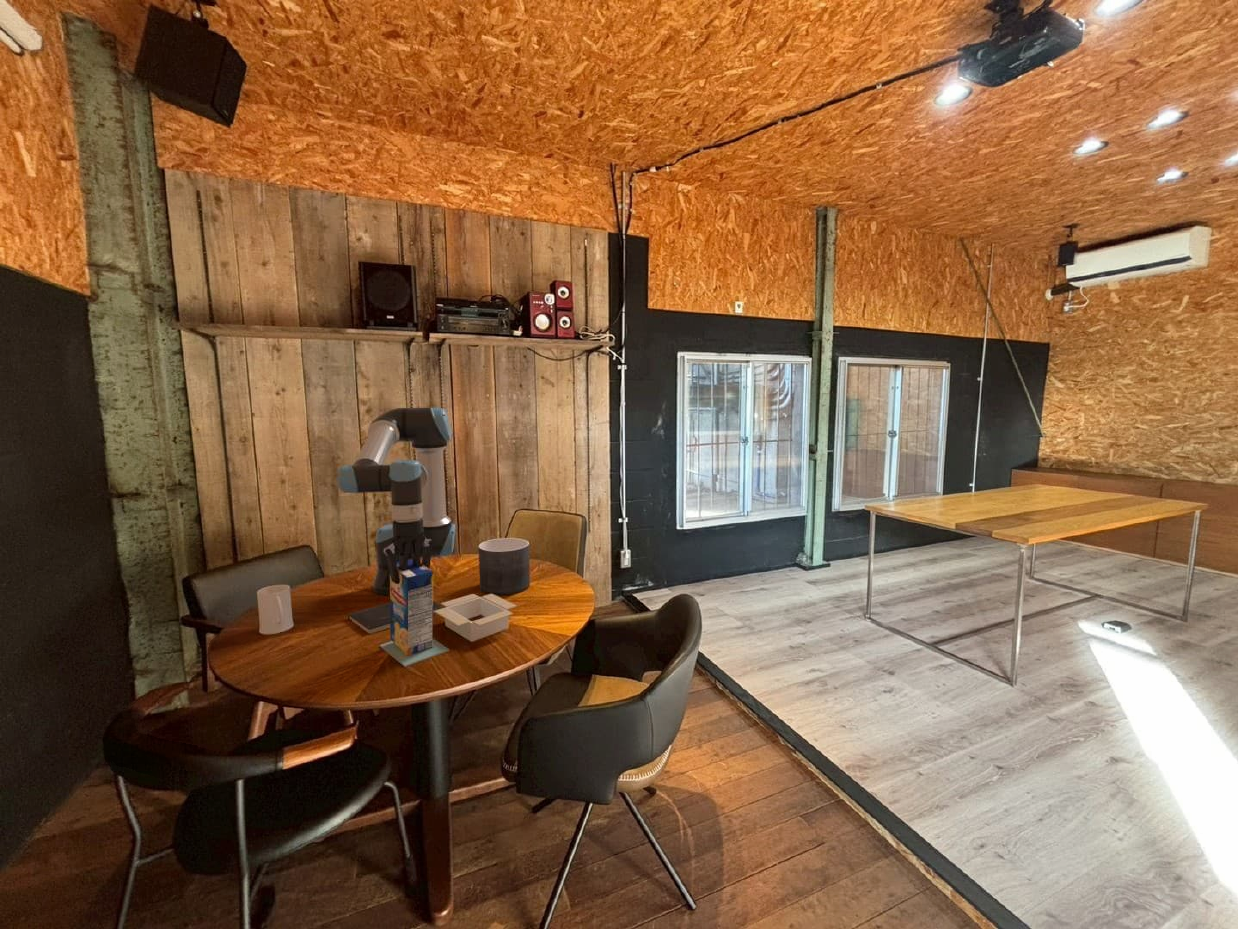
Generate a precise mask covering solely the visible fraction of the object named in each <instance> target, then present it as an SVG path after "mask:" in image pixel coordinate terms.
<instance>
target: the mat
mask: <svg viewBox="0 0 1238 929" xmlns="http://www.w3.org/2000/svg"><path fill="white" fill-rule="evenodd" d="M379 646H380V648H381V649H383V650H384V651H385V652H386V653H387V654H388V655H390V656H391V657H392V658H393V659H394V660H396V661H397V662H398V663H400V665H401V666H403V667H404V668H407V667H409V666H412V665H414V664H417V663H420V662H423V661H425V660H428V659H431V658H434V657H436V656H439V655H442V654H445V653H447V652H450V649H449V648H448V647H447V646H445V645H444V644H442V643H440V642H439V641H437V640H436V639H435V638H433V648H430V649H427V650H424V651H422V652H419V653H416V654H413V655H410V656H407V655H406V654H405V653H404V652H403V651H402V650H401V649H400V648H399V647H398V646H397V645H396V644H395V643H394V642H393V641H392V640H391V641H388V642H386V643H382V644H379Z"/></svg>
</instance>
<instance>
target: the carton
mask: <svg viewBox="0 0 1238 929" xmlns="http://www.w3.org/2000/svg"><path fill="white" fill-rule="evenodd" d="M440 605H442V606H443V607H444V608H443V607H442V609H439V610H436V611H434V612H435V614H437V615H439V616H441V618H442V617H443V619H444V624H445V625H444V626H445V627H447V628H449V630H452V631H453V632H454V633H457V635H459V636H462V637H463V638H465V639H466V640H468V641H470V642H471V643H472V642H475V641H478V640H481V639H483V638H486V637H489V636H492V635H495V634H497V633H500V632H502V631H506V630H509V628H510V626H509V624H510V621H509V617H510V616H513V615H514V613H513V612H511V611H510V609H511V610H512V609H513V608H517V607H518V605H517V604H514V603H512V602H510V601H508V600H506V599H504V598H502V597H500V596H499V595H493V594H485V595H483V596H479V595H477V594H474V593H471V594H467V595H465V596H461V597H457V598H454V599H451V600H447V601H444V602H441V603H440ZM478 616H482V617H481V618H478V619H476V620H472V621H471V620H469V619H472V618H474V617H478Z"/></svg>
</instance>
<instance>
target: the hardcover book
mask: <svg viewBox="0 0 1238 929" xmlns="http://www.w3.org/2000/svg"><path fill="white" fill-rule="evenodd" d="M443 607H444V606H443V605H441V603H438V602H436V601H434V600H433V615H434V614H435V615H436V613H435V612H434V611H436V610H439V609H442V608H443ZM347 617H348V618H347V620H350V619H351V620H352V621H351V620H350V621H351V622H353V623H354V624H355V625H356V626H358V627H359V626H360V627H359V628H361V629H362V630H363V631H365V632H366V633H367V634H368V635H372V634H375V633H377V632H381V631H384V630H387V629H391V627H390V602H388V603H384V604H380V605H377V606H373V607H370V608H366V609H363V610H359V611H356V612H352V613H349V614H347Z"/></svg>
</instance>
